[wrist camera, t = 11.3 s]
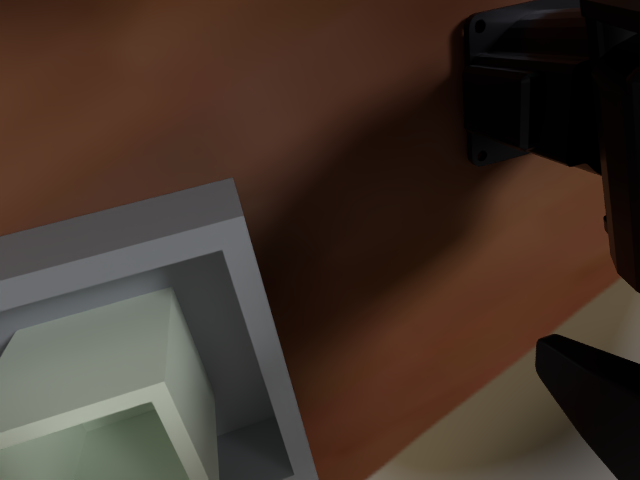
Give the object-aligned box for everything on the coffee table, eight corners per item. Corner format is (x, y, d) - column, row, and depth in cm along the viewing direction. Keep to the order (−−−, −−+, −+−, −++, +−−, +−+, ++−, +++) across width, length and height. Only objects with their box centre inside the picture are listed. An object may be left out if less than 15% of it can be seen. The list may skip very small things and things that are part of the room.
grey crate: (232, 177, 19) (243, 215, 15) (299, 410, 25) (318, 481, 21) (-133, 270, 17) (-232, 343, 13) (39, 498, 23) (7, 594, 19)
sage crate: (172, 286, 19) (164, 381, 14) (214, 393, 22) (220, 505, 17) (16, 330, 18) (-55, 449, 13) (81, 436, 21) (44, 568, 16)
